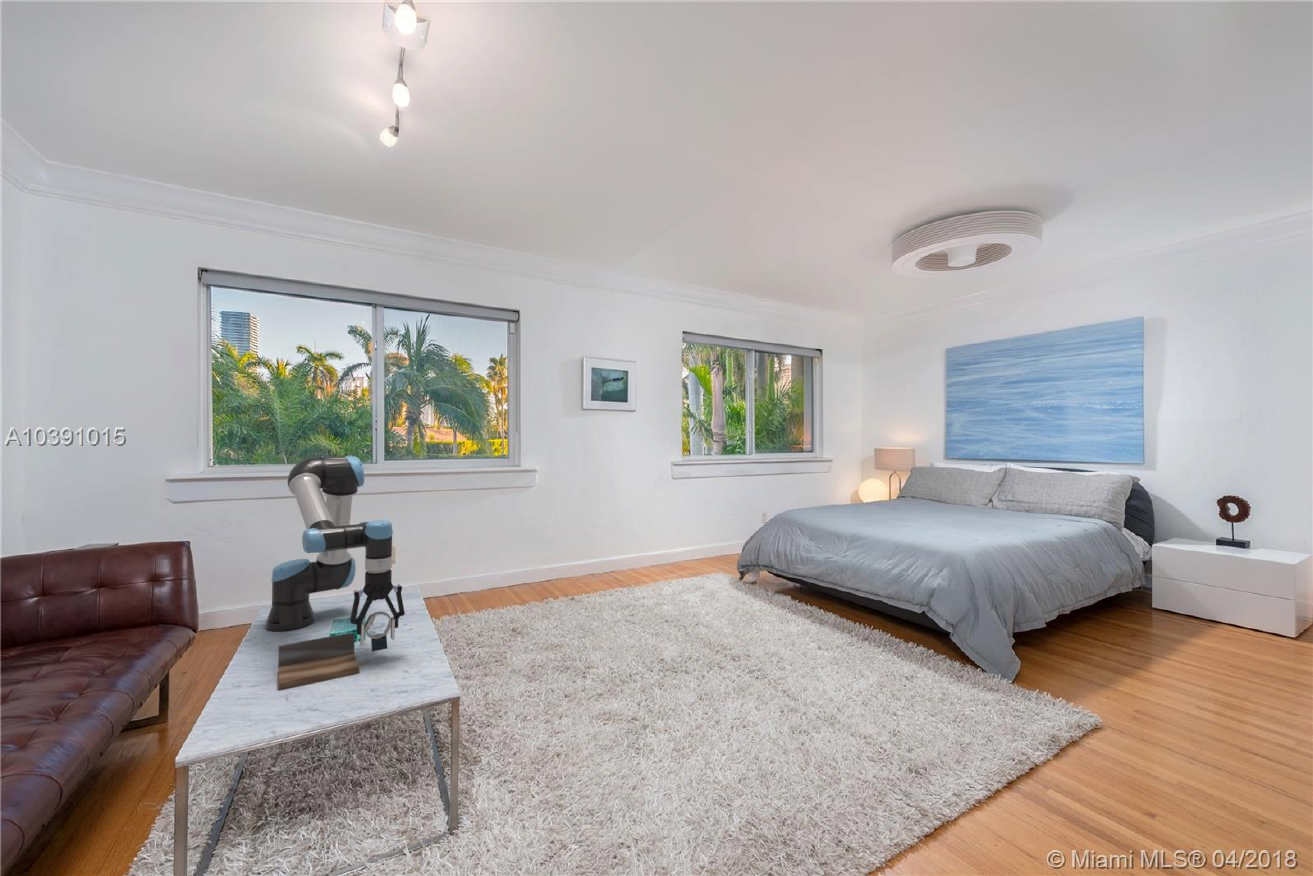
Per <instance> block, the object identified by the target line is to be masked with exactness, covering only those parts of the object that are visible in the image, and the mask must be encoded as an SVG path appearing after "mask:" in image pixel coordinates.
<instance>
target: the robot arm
mask: <svg viewBox="0 0 1313 876" xmlns="http://www.w3.org/2000/svg"><path fill="white" fill-rule="evenodd" d="M364 483H365V471H364V467H363V464H362V461H361V460H360V458H358V457H357V456H352V455H351V456H350V455H349V456H347V455H342V456H341V455H340V456H339V455H338V456H334V455H333V456H312V457H307V458H304V459H302V460H301V461H299V462H298V463H296V464H295V465H294V466H293V467H292V469H291V470H290V471H289V474H288V475H287V487H288V490H289V492H290V493H291V494H293V496H295V499H296V503H297V506H298V508H299V511H300V513H301V514H300V515H301V517H302V519H303V522H304V525H305V528H306V529H305V530H304V531H303V533H302V538H301V539H302V540H301V541H302V548H303V551H304V552H305V553H307V554H314V553H315V554H316V553H318V554H317V556H316V561H310V559H308V558H300V559H299V558H298V559H297V558H296V559H293V560H287V561H285V562H282V563H279V564H278V565H275V566H274V568H273V569H272V572H271V573H272V574H271V580H270V581H271V582H272V583H271V607H270V610H269V613H268V616H267V618H266V622H265V629H266V630H267V631H271V632H287V631H295V630H298V629H302V628H305V627H308V626H310V625H312V624H314V622H315V613H314V610H313V608H312V605H311V603H310V594H315V593H321V592H326V591H327V592H328V591H333V590H340V589H344V588H347V587H349V586H350V585H352V583H353V581H354V579H355V576H356V571H357V569H356V561H355V558H354V557H352V554H351V553H350V552H349V551H348V550H349V549H356V548H365V557H364V558H365V563H364V570H365V573H364V587H363V588H362V589H358V590H357V589H354V590H353V596H354V597H353V598H354V599H353V604H352V607H351V608H352V609H351V614H350V619H349V621H350V624H352V625H356V634H357V635H358V636H359V635H360V636H359V642H360V643H359V644H360V646H361V647H363V646H365V630H364V625H365V623H364V620H365V617H366V615H367V612H368V611H369V608H370V607H371V605H372V603H373V602H375V601H378V600H385V602H386V604H387V606H388V608H389V610H390V612H391V614H392V615H393V616H390V618H391V621H392V624H391V627H390V639H391V640H392V641H395V639H396V638H395V635H396V633H395V632H396V630H395V629H398V628H399V618H400V617H403V616H405V614H406V613H405V607H404V602H403V597H402V591H403V586H402V585H401V584H400V583H398V584H397V585H396V584H393V583H392V580H393V579H392V570H391V568H392V567H393V566H392V565H393V564H392V563H393V562H392V561H393V560H392V559H393V558H392V557H393V554H392V553H393V533H394V532H393V531H394V530H393V523H392V522H391V521H389V520H385V519H384V520H383V519H381V520H377V519H376V520H371V521H360V522H358V523H357V524H351V513H352V505H353V504H352V502H353V496H354V495H356V494H358V488H361V487H363V486H364ZM323 494H324V495H325V496H326V497H325V498H324V495H323ZM392 590H393V592H395V595H396V596H395V597H396V601H397V606H398V611H397V610H396V608H395V607H394V604H393V603H392V600H391V598H390V596H389V594H390V593H391V592H392ZM363 594H365V595H366V599H365V601H364V604H363V606H362V608H361V611H360V612H359V615H358V609H359V605H360V602H361V601H360V600H361V599H360V598H361V597H363ZM357 615H358V617H357Z"/></svg>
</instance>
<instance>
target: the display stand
mask: <svg viewBox="0 0 1313 876" xmlns="http://www.w3.org/2000/svg"><path fill="white" fill-rule="evenodd" d="M277 655H278V657H277V658H278V659H277V660H278V662H277V663H278V665H277V666H278V667H277V669H278V670H277V671H278V672H277V673H278V678H277V679H278V680H277V681H278V691H281V690H287V689H292V688H296V687H300V686H305V685H310V684H315V683H319V682H324V681H330V680H333V679H339V678H343V677H348V676H352V675H353V676H354V675H357V673H358V674H360V664H359V662H358V658H357V656H356V653H355V632H350V633H343V634H338V635H337V634H336V635H332V636H326V637H320V638H315V639H309V640H303V641H298V642H291V643H287V644H285V643H284V644H281V645H280V644H279V645H278V654H277Z"/></svg>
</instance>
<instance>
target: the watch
mask: <svg viewBox="0 0 1313 876" xmlns="http://www.w3.org/2000/svg"><path fill="white" fill-rule="evenodd" d="M380 615H381V616H386V617H387V618H388V624H387V626H386V628H385V629H384V632H383V633H378V634H374V635H373V634H370V633H369V632H368V631H369V630H370V629H371V627H372V626H373V624H374V621H375V619H376V617H377V616H380ZM391 624H392V621H391V616H390V615H389V614H388V613H387V612H385V611H376V612H373V613H372V614H371V613H370V614H369V616H368V617H367V619H366V621H365V623H364V635H366V636H367V638H370V643H371V652H372V653H373V652H378V651H381V650H386V649H388V637H387V635H388V634H389V632H390V631H391Z"/></svg>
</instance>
